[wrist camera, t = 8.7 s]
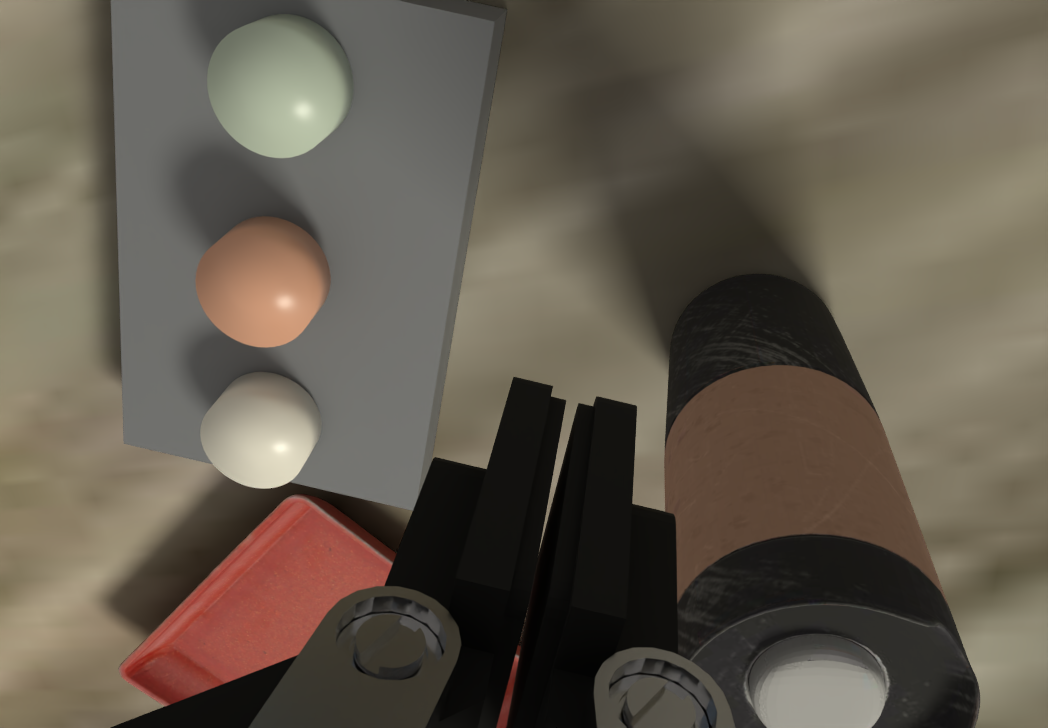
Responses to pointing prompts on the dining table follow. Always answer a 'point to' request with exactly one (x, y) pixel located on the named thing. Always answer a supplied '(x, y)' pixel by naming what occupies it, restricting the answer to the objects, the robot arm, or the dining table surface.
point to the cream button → (261, 430)
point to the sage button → (280, 85)
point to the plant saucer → (264, 602)
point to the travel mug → (799, 526)
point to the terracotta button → (263, 281)
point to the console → (304, 226)
